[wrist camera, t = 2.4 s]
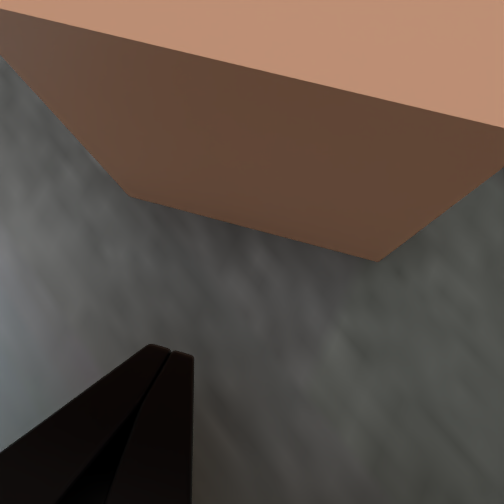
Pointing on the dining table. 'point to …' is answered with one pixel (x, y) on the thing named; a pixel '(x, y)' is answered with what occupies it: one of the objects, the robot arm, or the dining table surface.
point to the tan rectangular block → (277, 106)
